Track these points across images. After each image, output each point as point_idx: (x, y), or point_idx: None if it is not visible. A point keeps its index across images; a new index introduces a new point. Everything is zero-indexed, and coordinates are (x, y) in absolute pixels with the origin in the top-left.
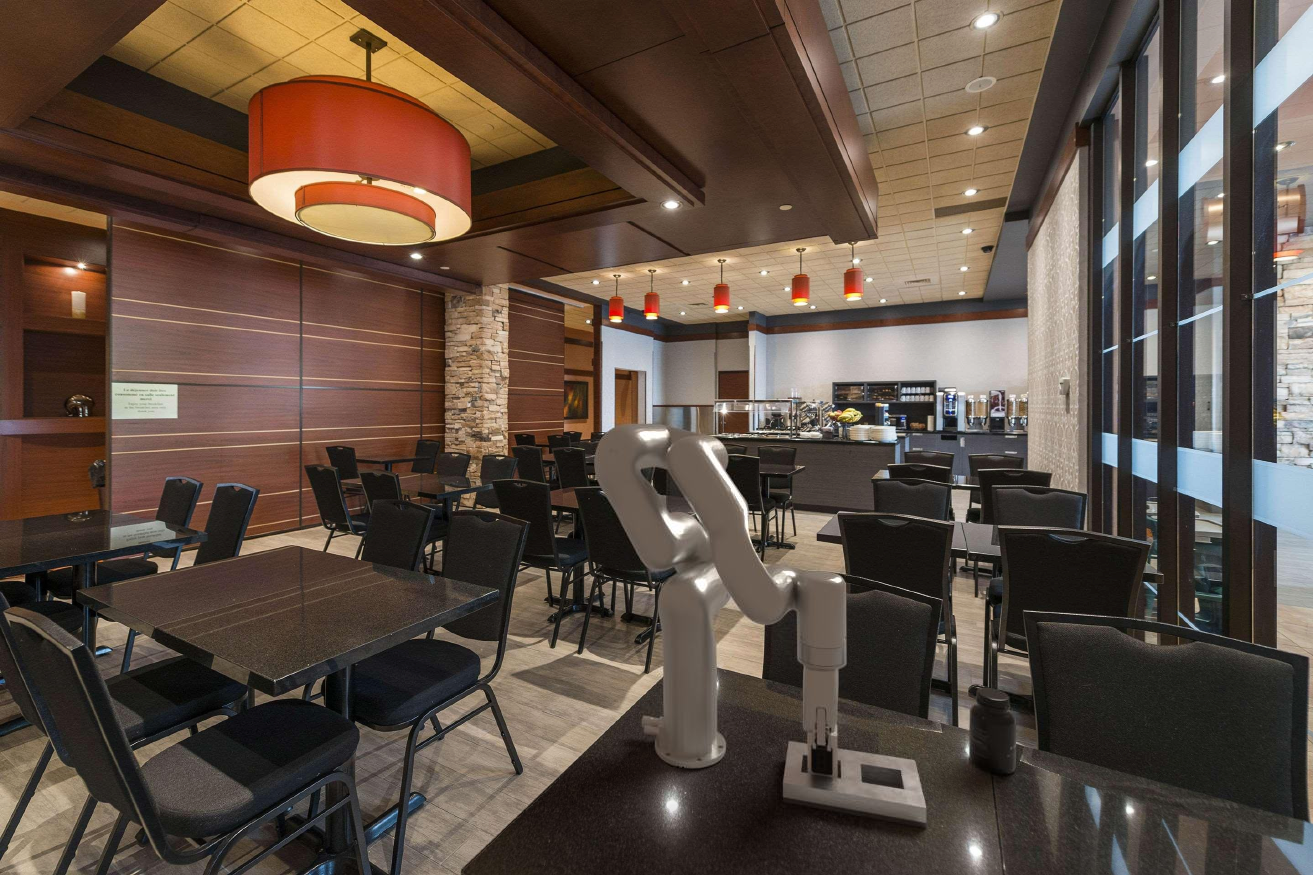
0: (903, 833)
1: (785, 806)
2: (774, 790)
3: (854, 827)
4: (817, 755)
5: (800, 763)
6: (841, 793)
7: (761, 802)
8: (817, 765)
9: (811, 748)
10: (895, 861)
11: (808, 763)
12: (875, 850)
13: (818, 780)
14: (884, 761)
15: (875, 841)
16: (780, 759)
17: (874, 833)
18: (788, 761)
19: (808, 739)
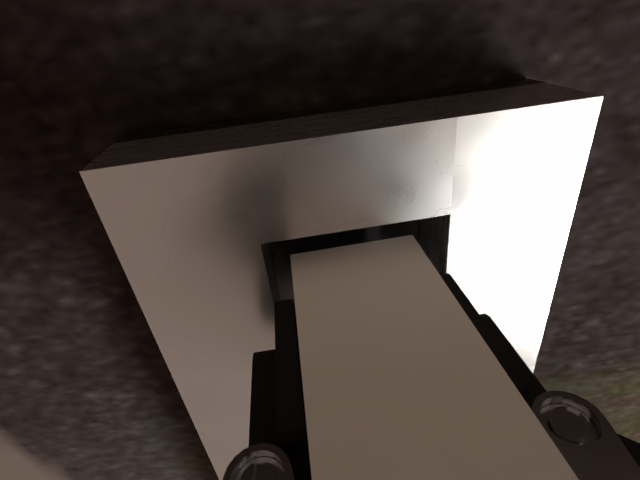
0: (207, 469)
1: (98, 154)
2: (195, 65)
3: (149, 386)
4: (252, 428)
5: (349, 221)
6: (190, 410)
7: (34, 12)
8: (252, 371)
9: (277, 421)
10: (75, 473)
11: (296, 301)
12: (82, 439)
13: (230, 328)
14: None
15: (123, 433)
16: (507, 31)
17: (159, 427)
18: (345, 149)
19: (311, 454)
